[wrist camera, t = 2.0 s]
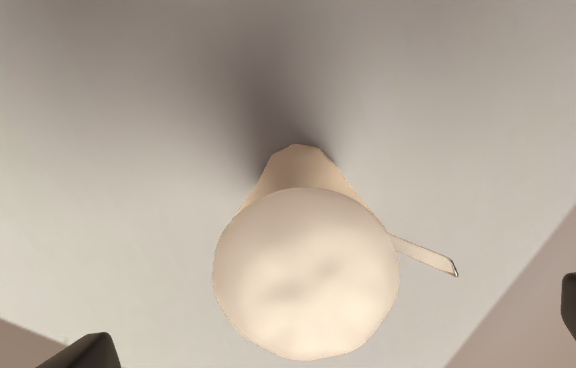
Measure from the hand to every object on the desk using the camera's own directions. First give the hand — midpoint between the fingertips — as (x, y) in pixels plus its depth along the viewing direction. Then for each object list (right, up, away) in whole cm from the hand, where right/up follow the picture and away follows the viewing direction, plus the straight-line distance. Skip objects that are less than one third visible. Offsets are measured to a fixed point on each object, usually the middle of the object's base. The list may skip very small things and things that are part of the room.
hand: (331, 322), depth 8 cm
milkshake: (0, +3, +10) cm, 10 cm away
